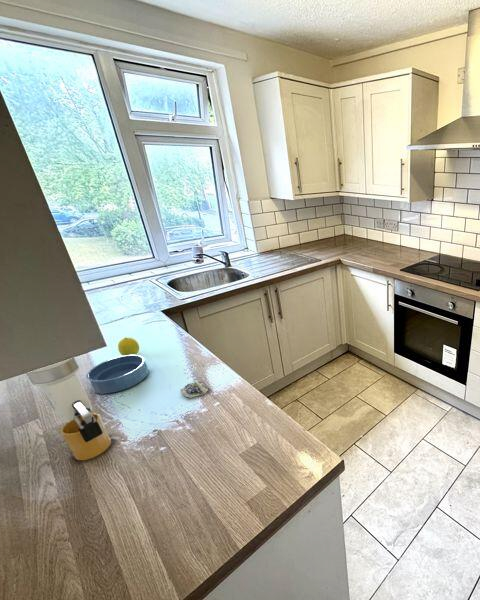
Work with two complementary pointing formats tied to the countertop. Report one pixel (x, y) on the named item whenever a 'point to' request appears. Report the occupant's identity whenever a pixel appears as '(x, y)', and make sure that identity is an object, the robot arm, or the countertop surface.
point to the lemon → (128, 346)
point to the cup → (79, 446)
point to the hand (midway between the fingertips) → (85, 429)
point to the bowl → (117, 374)
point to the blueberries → (194, 389)
